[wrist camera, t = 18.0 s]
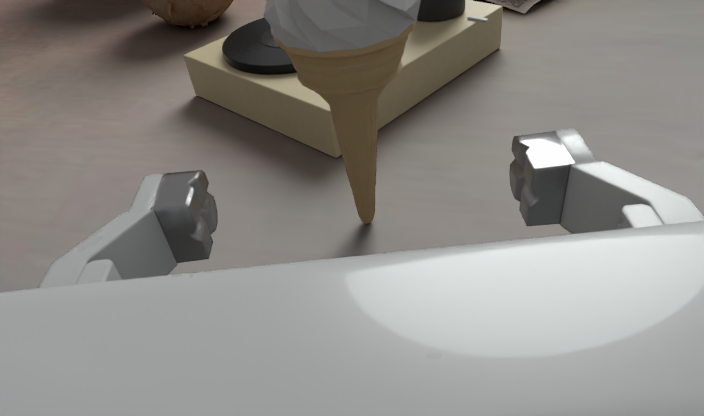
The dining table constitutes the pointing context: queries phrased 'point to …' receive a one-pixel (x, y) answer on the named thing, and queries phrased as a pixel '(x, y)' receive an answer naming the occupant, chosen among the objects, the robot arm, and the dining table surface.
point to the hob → (314, 112)
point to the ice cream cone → (347, 69)
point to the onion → (188, 11)
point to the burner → (256, 50)
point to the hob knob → (440, 9)
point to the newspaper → (516, 4)
